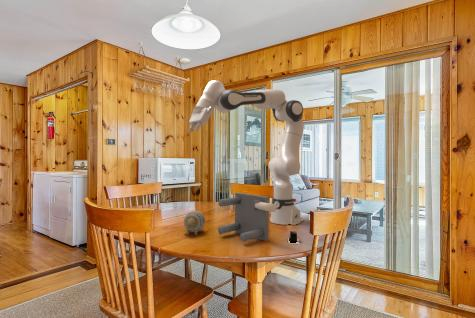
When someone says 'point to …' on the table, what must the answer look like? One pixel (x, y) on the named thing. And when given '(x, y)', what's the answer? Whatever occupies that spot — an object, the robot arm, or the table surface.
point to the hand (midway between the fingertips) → (193, 131)
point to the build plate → (293, 237)
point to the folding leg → (264, 206)
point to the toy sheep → (194, 222)
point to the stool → (247, 217)
